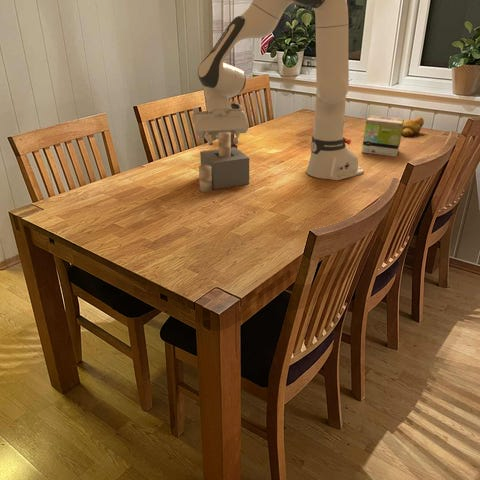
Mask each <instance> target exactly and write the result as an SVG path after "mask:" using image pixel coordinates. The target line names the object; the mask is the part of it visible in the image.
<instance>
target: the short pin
mask: <svg viewBox="0 0 480 480" xmlns="http://www.w3.org/2000/svg"><path fill="white" fill-rule="evenodd" d="M198 177H199V179H198V180H199V192H200V193H202V194H203V193H204V194H208V193H211V192H213V188H212V170H211V166H210V165H201V164H200V165H199V166H198Z"/></svg>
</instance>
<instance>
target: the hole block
mask: <svg viewBox="0 0 480 480" xmlns="http://www.w3.org/2000/svg"><path fill="white" fill-rule="evenodd" d="M199 152H200V153H199V154H200V165H210V166H211V170H212V190H218V189H225V188H229V187H238V186H243V185H249V184H250V157H249V156H247V155H246V154H245V153H244V152H242V151H240V149H238V147H237V148H235V147H232V148H231V157H224V158H219V148H218V149H217V148H216V149H210V150H202V151H199Z"/></svg>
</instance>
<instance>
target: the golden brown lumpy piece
mask: <svg viewBox="0 0 480 480" xmlns="http://www.w3.org/2000/svg"><path fill="white" fill-rule="evenodd" d="M424 124H425V120H424V119H423V117H416V118H414V119H407V120H405V119H404V123H403V129H402V134H401V135H403V136H404V137H412V136H414V135H415V134H416V135H418V134H420V131H421V130H422V129H421V128H423V126H424Z"/></svg>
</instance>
